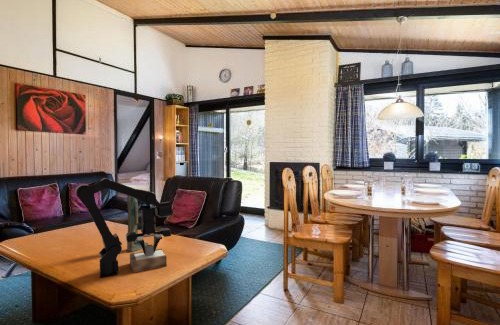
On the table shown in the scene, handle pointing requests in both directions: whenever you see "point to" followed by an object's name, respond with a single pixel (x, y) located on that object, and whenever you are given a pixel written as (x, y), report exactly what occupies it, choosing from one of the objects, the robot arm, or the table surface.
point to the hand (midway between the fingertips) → (149, 253)
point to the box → (147, 262)
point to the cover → (148, 253)
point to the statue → (133, 223)
